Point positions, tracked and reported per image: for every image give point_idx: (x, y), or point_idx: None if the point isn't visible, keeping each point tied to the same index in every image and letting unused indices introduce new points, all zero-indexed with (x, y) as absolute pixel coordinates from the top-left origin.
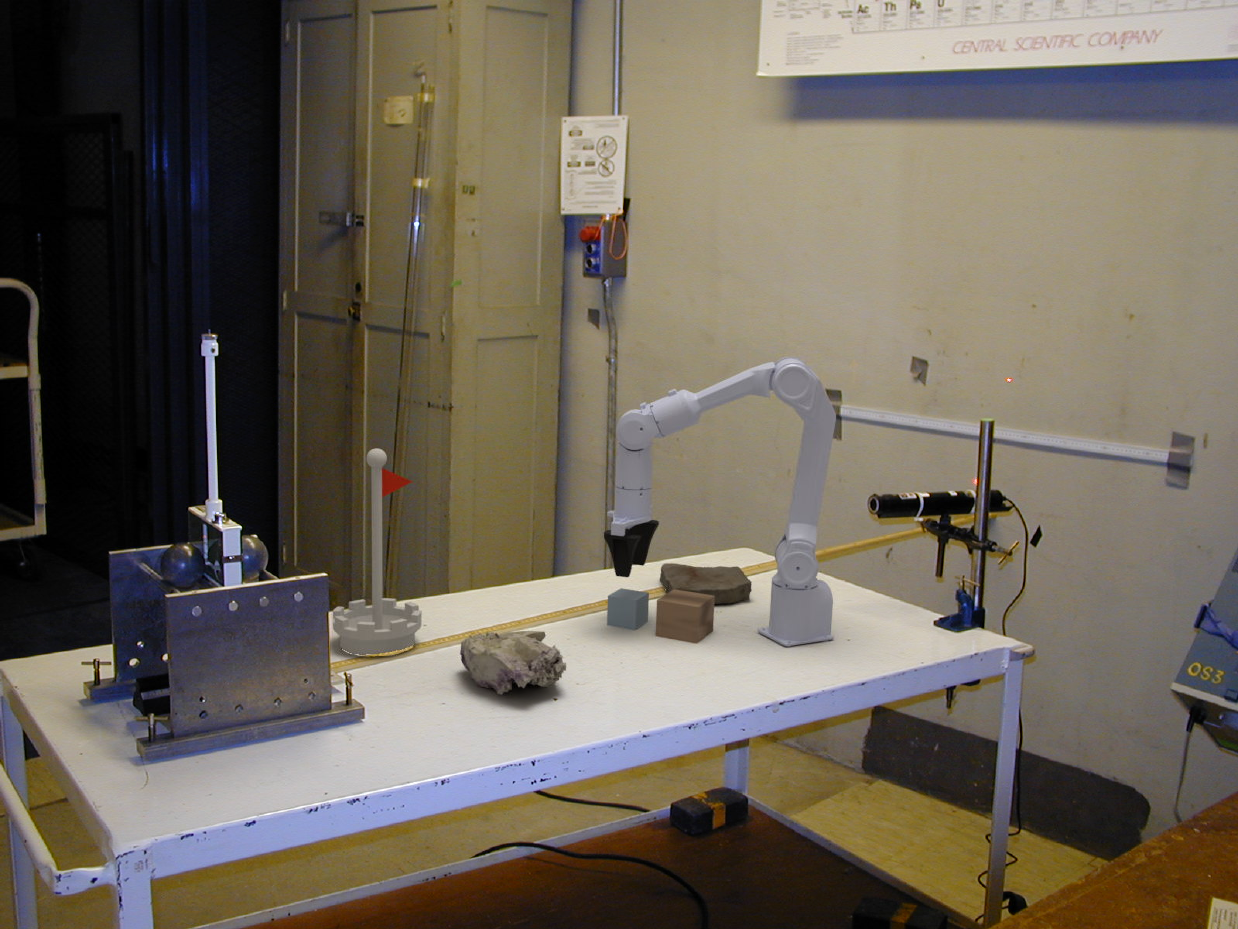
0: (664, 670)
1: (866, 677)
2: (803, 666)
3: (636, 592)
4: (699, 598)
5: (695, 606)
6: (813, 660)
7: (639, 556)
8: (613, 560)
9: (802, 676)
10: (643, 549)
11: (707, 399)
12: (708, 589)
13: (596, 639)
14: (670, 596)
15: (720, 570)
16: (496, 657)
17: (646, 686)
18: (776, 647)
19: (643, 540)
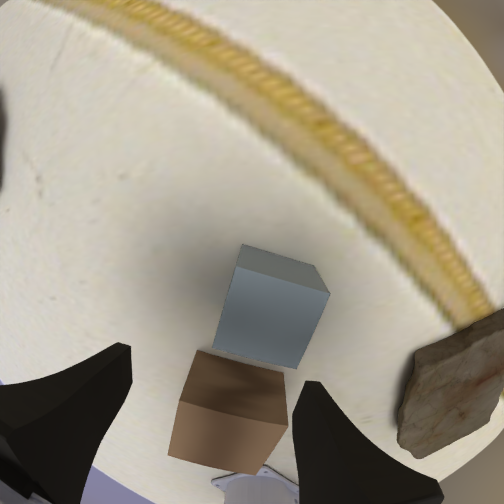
0: (58, 357)
1: (153, 501)
2: (155, 479)
3: (291, 341)
4: (227, 460)
5: (168, 452)
6: (179, 488)
7: (300, 427)
8: (76, 366)
9: (126, 472)
10: (301, 459)
11: None
12: (403, 423)
13: (136, 237)
14: (222, 423)
15: (483, 409)
16: None
17: (12, 331)
18: (208, 473)
19: (306, 489)
